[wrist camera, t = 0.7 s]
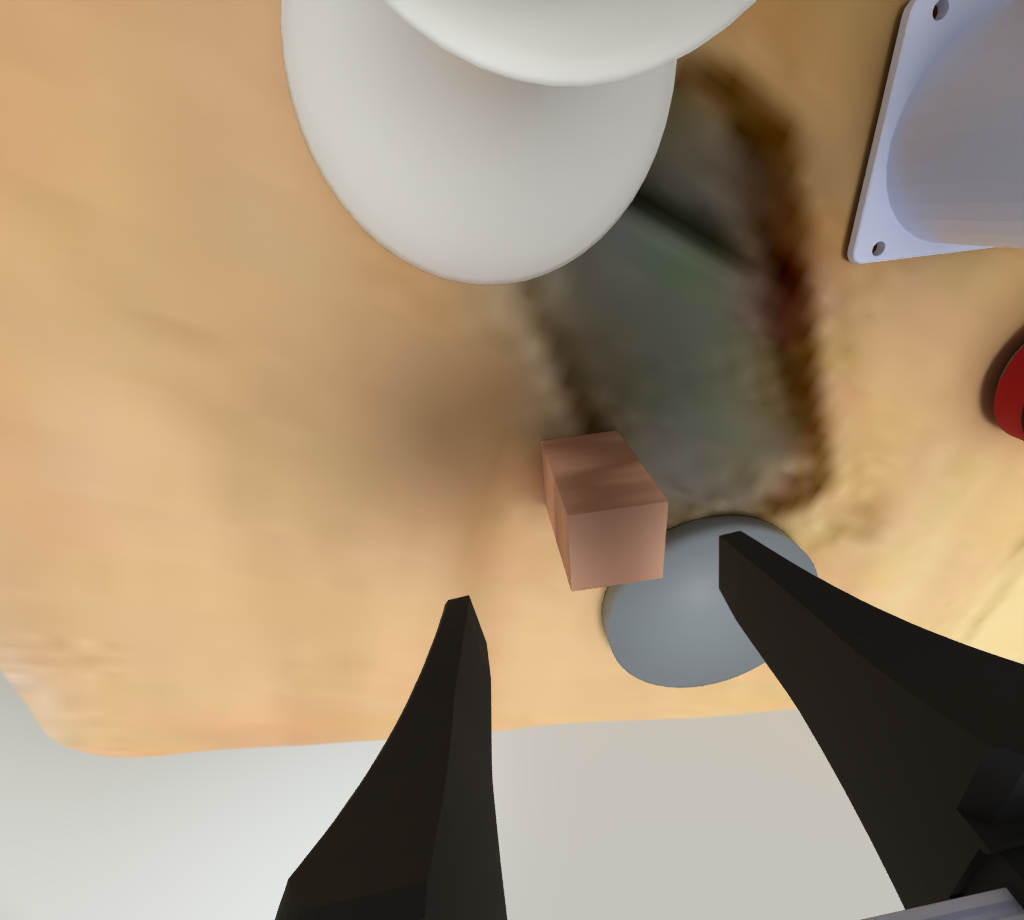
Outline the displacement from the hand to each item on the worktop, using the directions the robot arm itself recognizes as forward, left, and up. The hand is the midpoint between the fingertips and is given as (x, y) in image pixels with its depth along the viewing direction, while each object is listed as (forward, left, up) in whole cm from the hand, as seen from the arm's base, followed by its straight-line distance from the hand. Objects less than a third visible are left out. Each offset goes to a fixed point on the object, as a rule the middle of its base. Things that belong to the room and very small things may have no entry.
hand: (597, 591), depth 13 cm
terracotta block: (-2, +2, -10) cm, 10 cm away
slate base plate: (-9, +12, -9) cm, 17 cm away
